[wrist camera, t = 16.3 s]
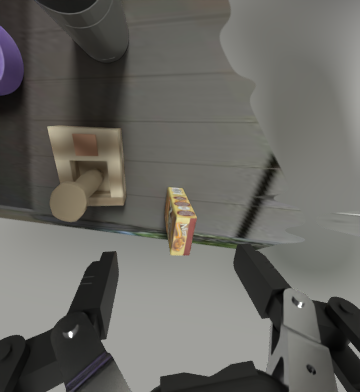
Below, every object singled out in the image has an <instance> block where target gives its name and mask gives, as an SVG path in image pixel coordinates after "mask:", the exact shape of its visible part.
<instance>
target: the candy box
mask: <svg viewBox="0 0 360 392" xmlns="http://www.w3.org/2000/svg"><path fill="white" fill-rule="evenodd" d="M164 217H165V223H166V229H167V236H168V241H169V248H170V254H171V255H189V254H190V250H191V244H192V239H193V234H194V229H195V224H196V220H197V217H196V215H195V213H194V211H193V209H192V207H191V205H190V203H189V201H188V199H187V197H186V195H185V192H184V190H183V188H172V187H168V190H167V198H166V206H165V215H164Z"/></svg>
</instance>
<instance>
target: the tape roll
mask: <svg viewBox="0 0 360 392" xmlns="http://www.w3.org/2000/svg"><path fill="white" fill-rule="evenodd" d="M23 74H24V66H23V60H22V57H21V54H20V51H19V49H18V47H17V45H16V44H15V42H14V41H13V39H12V38H11V36H10V35H9V34H8V33H7V32H6V31H5V30H4V29H3V28H2V27H1V26H0V96H1V95H7V94H10V93H12V92H13V91H15V90H16V89H17V88H18V87H19V86H20V84H21V82H22V79H23Z"/></svg>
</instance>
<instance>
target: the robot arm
mask: <svg viewBox="0 0 360 392" xmlns="http://www.w3.org/2000/svg"><path fill="white" fill-rule="evenodd" d="M35 2H36V3H37V4H38V5H39V6H40V7H41V8H42V9H43V10H45V12H46V13H47V14H48V15H49V16H50V17H51V18H52V19H53V20H54V21H55V22H56V23H57V24H58V25H59V26H60V27H61V28H62V29H63V30H64V31H65V32H66V33H67V34H68V35H69V36H70V37H71V38H72V39H73V40H74V41H75V42H76V43H77V44H78V45H79V46H80V47H81V48H82V49H83V50H84V51H85V52H86V53H87V54H88V55H89V56H91V57H92V58H93V59H95V60H97V61H99V62H104V63H111V62H114V61H116V60H118V59H120V58H121V57H122V56H123V55H124V53H125V51H126V49H127V46H128V41H129V30H128V26H127V22H126V18H125V13H124V9H123V5H122V1H121V0H35ZM234 269H235V271H236V273H237V275H238V277H239V278H240V280H241V282H242V284H243V286H244V287H245V289H246V291H247V292H248V295H249V297H250V298H251V300H252V302H253V304H254V305H255V307H256V309H257V311H258V313H259V315H260V316H261V318H262V319H263V318H270V320H271V321H272V322H271V326H270V342H269V357H268V364H267V368H266V372H263V371H260V370H258V369H255V366H254V364H253V361H247V362H241V363H236V364H231V365H229V366H228V367H226V368H224V369H222V370H221V371H219V372H218V373H216V374H214V375H213V376H210V377H207V376H202V375H196V374H190V373H179V374H173V375H167V376H162V377H160V385H159V386H158V387H156V388H154V389H153V390H152V391H151V392H338V389H337V385H336V380H335V375H336V376H337V378H338V379H339V381H340V382H341V384H342V385H343V386H344V388H345V389H346V391H347V392H360V359H359V358H358V357H357V355H356V354H355V353H354V352H353V351H352V349H351V348H350V347H349V346H348V344H349V343H350V342H351V343H352V344H353V345H354V346H355V347H356V349H357V350H358V351H359V352H360V309H358V308H357V307H356V306H355V305H354V304H352V303H351V302H349V301H347V300H345V299H343V298H339V297H331V298H330V299H329V301H328V303H324V302H319V301H314V300H311V299H310V298H309V297H308V296H307V295H306V294H304V293H303V292H301V291H299V290H297V289H293V288H291V287H290V285H289V284H288V283H287V282H286V281H285V279H284V278H283V277H282V276H281V275H280V273H279V272H278V271H277V270H276V269H275V268H274V266H273V265H272V264H271V263H270V261H269V260H268V259H267V258H266V256H264V255H263V254H262V253H260V252H259V251H255V249H254V248H253V247H252V246H251V244H238V245H237V248H236V253H235V257H234ZM118 270H119V269H118V262H117V253H116V251H112V252H103V253H102V256H101V258H100V261H95V262H92V263H91V264H90V266H89V267H88V268H87V269H86V271H85V274H84V276H83V278H82V280H81V283H80V285H79V287H78V290H77V292H76V294H75V297H74V299H73V301H72V304H71V306H70V309H69V311H68V313H67V315H66V316H64V317H63V318H62V319H60V320H59V321H58V322H57V323H56V325H55V326H54V328H52V329H51V330H49V331H47V332H44V333H42V334H40V335H37V336H35V337H32V338H30V339H28V340H25V339H24V338H23V337H22V336H20V335H12V336H9V337H6V338H4V339H2V340H0V392H46V391H48V390H50V389H52V388H54V387H55V386H57V385H59V384H61V383H63V382H64V384H65V387H66V392H131V390H130V388H129V386H128V385H127V383H126V381H125V379H124V378H123V375H122V374H121V372H120V370H119V368H118V366H117V364H116V362H115V361H114V359H113V357H112V356H111V354H110V353H107V351H106V350H105V348H104V346H103V344H102V342H101V340H102V339H106V337H107V332H108V328H109V322H110V318H111V313H112V308H113V302H114V298H115V293H116V287H117V282H118V276H119V271H118ZM334 373H335V375H334Z"/></svg>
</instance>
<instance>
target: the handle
mask: <svg viewBox="0 0 360 392" xmlns="http://www.w3.org/2000/svg"><path fill="white" fill-rule="evenodd" d="M102 172H103V171H102V170H98V169H97V168H93V169H92V170H89V171H87V172H85V173H84V174H82V175H81V176H80V177H79V178H78V179H77V180H76V181H75V182H72V181H66V182H63V183H61V184H60V185H59V186H58V187H57V188H56V189H55V190H54V191H53V192H52V194H51V198H50V208H51V211H52V214H53V215H54V216H55V217H56V218H58V219H60V220H63V221H67V222H74V221H77V220H78V219H79V218H80V217H81V216H82V215H83V214H84V212H85V211H86V209H87V206H88V203H89V197H90V196H91V195H92V194H93V193H94V192H95V191H96V190H97V189H98V188H99V186H100V185H101V183H102V181H103V179H104V176H103V173H102Z"/></svg>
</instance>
